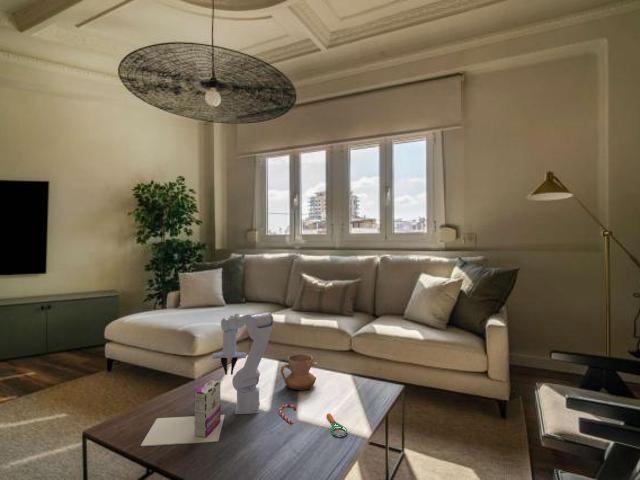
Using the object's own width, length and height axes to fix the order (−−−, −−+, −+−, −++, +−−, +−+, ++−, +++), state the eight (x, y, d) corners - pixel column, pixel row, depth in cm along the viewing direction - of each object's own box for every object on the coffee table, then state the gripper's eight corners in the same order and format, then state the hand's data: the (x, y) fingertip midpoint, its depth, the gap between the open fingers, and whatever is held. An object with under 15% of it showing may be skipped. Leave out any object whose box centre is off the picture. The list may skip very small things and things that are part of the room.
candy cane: (283, 423, 137) (276, 405, 151) (283, 426, 137) (276, 408, 151) (303, 420, 139) (294, 403, 154) (303, 424, 139) (294, 406, 154)
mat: (224, 415, 144) (224, 414, 144) (218, 441, 126) (218, 440, 126) (157, 419, 140) (157, 418, 140) (140, 446, 122) (140, 445, 122)
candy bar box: (209, 420, 139) (209, 379, 139) (220, 422, 138) (221, 380, 138) (193, 436, 128) (193, 391, 128) (206, 438, 127) (206, 393, 127)
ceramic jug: (315, 379, 180) (315, 351, 180) (319, 392, 166) (319, 361, 166) (280, 381, 178) (280, 353, 178) (280, 394, 164) (280, 363, 163)
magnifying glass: (349, 437, 131) (349, 432, 131) (334, 439, 129) (334, 435, 129) (335, 416, 145) (335, 412, 145) (321, 418, 143) (321, 414, 143)
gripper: (246, 340, 164) (246, 369, 165) (214, 341, 162) (213, 370, 163) (245, 346, 157) (244, 376, 158) (211, 346, 155) (211, 377, 156)
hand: (229, 373), depth 160 cm, fingers closed
